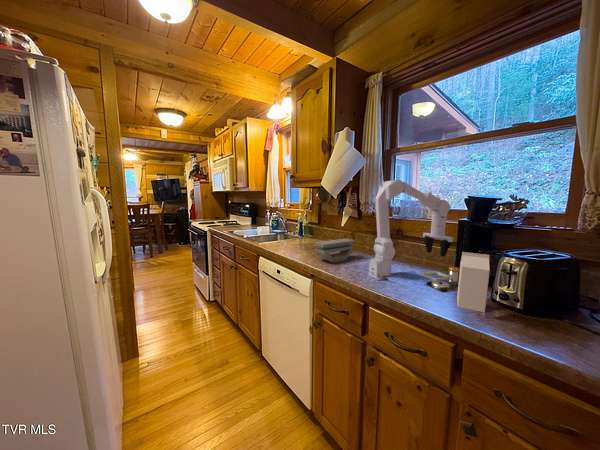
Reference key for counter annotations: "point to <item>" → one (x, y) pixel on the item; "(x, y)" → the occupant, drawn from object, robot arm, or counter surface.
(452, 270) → the lock pin
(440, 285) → the pulley deck
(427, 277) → the tray
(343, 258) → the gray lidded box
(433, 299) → the counter surface
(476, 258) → the milk carton
